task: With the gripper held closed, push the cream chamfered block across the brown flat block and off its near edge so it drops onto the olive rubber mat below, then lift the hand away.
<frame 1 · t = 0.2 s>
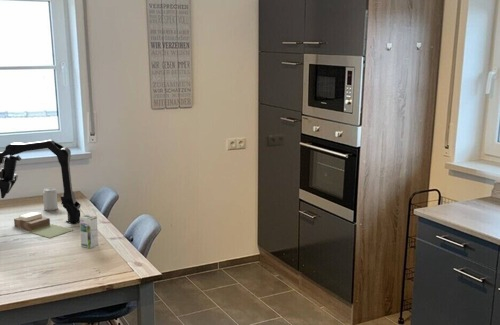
hand: (4, 195, 278), 15 cm above the table, tool pointing down, fingers open, 9 cm apart
mat: (51, 231, 270), on the table
can: (51, 209, 308), on the table
brown flat block: (32, 226, 278), on the table
syrup box: (89, 246, 251), on the table
cream chamfered block: (30, 218, 278), point 4 cm above the table, touching brown flat block
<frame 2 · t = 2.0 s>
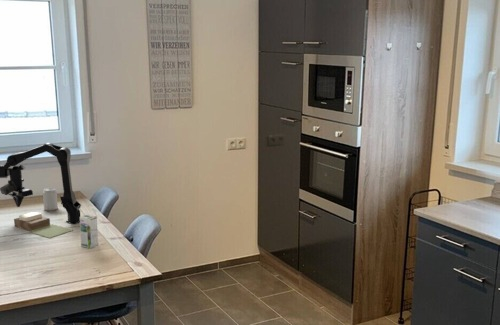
hand: (18, 206, 282), 9 cm above the table, tool pointing down, fingers closed
nothing on the table moved.
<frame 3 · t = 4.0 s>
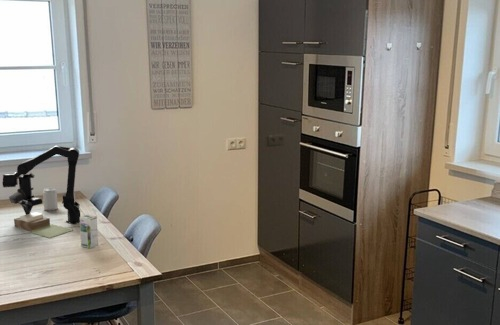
hand: (27, 215, 279), 5 cm above the table, tool pointing down, fingers closed
cream chamfered block: (31, 218, 277), point 4 cm above the table, touching brown flat block, gripper
everything else where it was.
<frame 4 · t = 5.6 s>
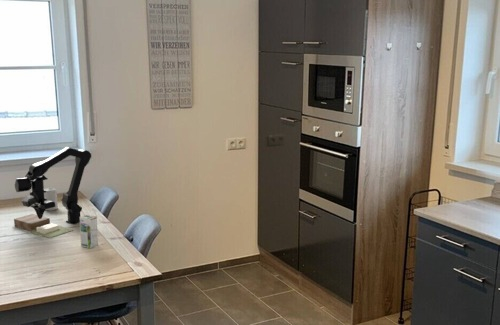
hand: (40, 218, 273), 5 cm above the table, tool pointing down, fingers closed
cream chamfered block: (47, 226, 270), point 2 cm above the table, tilted 180°, touching mat
everything else where it was.
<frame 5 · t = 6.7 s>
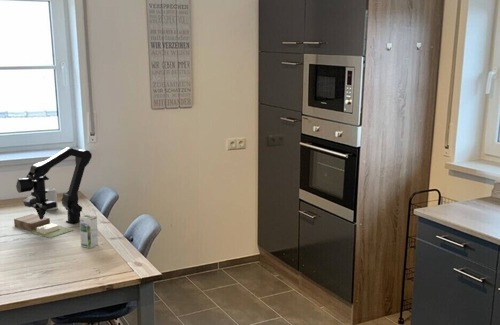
hand: (41, 219, 273), 5 cm above the table, tool pointing down, fingers closed
nothing on the table moved.
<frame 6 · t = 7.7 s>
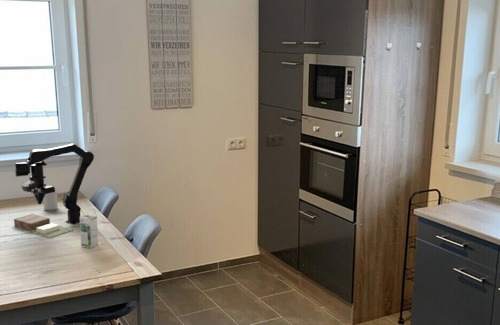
hand: (39, 204, 275), 12 cm above the table, tool pointing down, fingers closed
nothing on the table moved.
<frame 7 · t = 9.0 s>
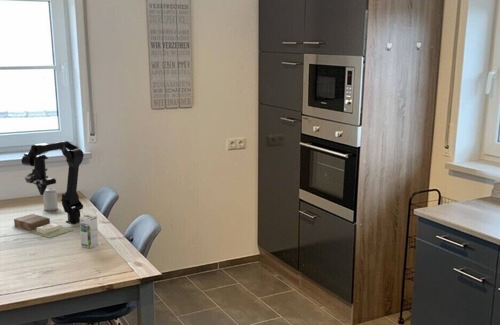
hand: (41, 195, 292), 12 cm above the table, tool pointing down, fingers closed
nothing on the table moved.
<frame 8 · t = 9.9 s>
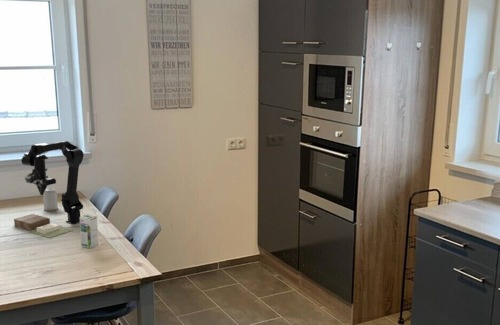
hand: (41, 195, 292), 12 cm above the table, tool pointing down, fingers closed
nothing on the table moved.
at the end: cream chamfered block point 2.4 cm above the table; cream chamfered block inside the target area (1.5 cm from its centre), point 2.4 cm above the table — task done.
